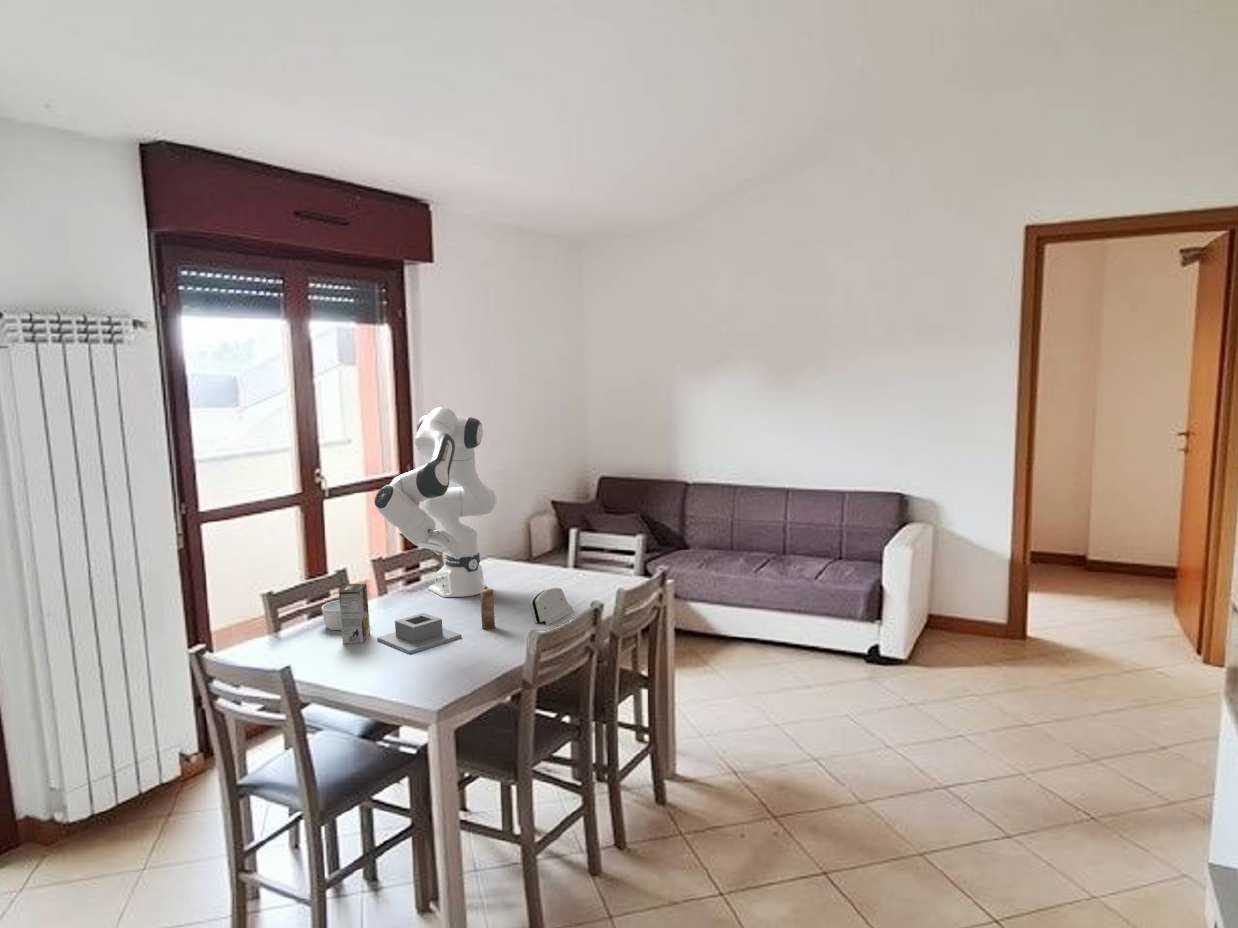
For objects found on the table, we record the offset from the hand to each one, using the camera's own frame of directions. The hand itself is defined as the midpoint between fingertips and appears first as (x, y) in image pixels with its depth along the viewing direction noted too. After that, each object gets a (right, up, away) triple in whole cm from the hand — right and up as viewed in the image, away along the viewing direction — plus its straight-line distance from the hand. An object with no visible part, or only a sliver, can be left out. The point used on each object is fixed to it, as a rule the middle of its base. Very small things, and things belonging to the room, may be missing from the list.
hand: (449, 555), depth 237 cm
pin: (+10, -24, +11) cm, 29 cm away
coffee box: (-30, -26, +5) cm, 40 cm away
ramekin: (-38, -25, +18) cm, 49 cm away
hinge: (+29, -23, +22) cm, 42 cm away
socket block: (-10, -26, +2) cm, 28 cm away
